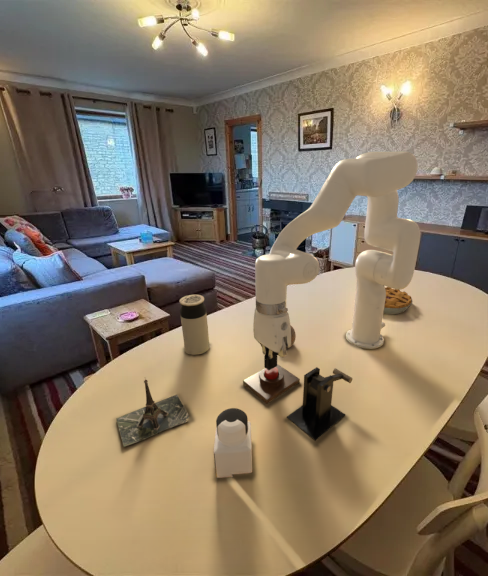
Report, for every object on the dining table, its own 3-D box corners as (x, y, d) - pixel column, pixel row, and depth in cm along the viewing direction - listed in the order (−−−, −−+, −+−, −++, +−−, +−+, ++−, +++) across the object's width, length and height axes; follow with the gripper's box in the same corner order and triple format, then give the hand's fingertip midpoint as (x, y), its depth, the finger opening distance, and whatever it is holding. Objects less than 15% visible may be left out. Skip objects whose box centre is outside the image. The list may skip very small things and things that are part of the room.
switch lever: (334, 374, 79) (337, 366, 79) (351, 384, 76) (353, 375, 75) (305, 383, 71) (307, 373, 70) (322, 394, 67) (324, 384, 67)
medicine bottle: (218, 447, 67) (214, 404, 62) (251, 445, 67) (250, 402, 63) (216, 479, 60) (211, 433, 56) (252, 476, 61) (250, 430, 56)
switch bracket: (316, 398, 80) (319, 357, 76) (345, 418, 74) (350, 375, 69) (286, 420, 74) (287, 377, 69) (315, 444, 67) (318, 398, 63)
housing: (275, 368, 92) (275, 357, 91) (299, 385, 85) (300, 373, 84) (243, 386, 85) (242, 374, 83) (267, 406, 78) (266, 394, 76)
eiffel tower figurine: (178, 395, 82) (171, 353, 76) (191, 420, 74) (185, 374, 69) (116, 419, 74) (104, 374, 69) (124, 450, 66) (111, 402, 61)
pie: (415, 300, 136) (417, 290, 134) (405, 321, 119) (408, 309, 117) (366, 290, 147) (367, 280, 145) (351, 307, 130) (352, 296, 128)
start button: (271, 369, 86) (271, 364, 85) (280, 375, 83) (280, 370, 83) (262, 375, 84) (261, 369, 83) (270, 381, 81) (270, 376, 81)
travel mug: (214, 345, 104) (210, 296, 97) (199, 358, 97) (194, 306, 90) (195, 339, 107) (189, 292, 100) (179, 352, 100) (172, 301, 93)
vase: (293, 352, 100) (294, 328, 97) (273, 349, 101) (273, 326, 98) (296, 340, 106) (297, 318, 103) (276, 338, 107) (277, 316, 104)
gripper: (303, 310, 73) (300, 374, 80) (262, 292, 83) (263, 350, 90) (280, 321, 68) (279, 387, 75) (240, 300, 78) (242, 360, 85)
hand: (270, 366), depth 82 cm, fingers closed
